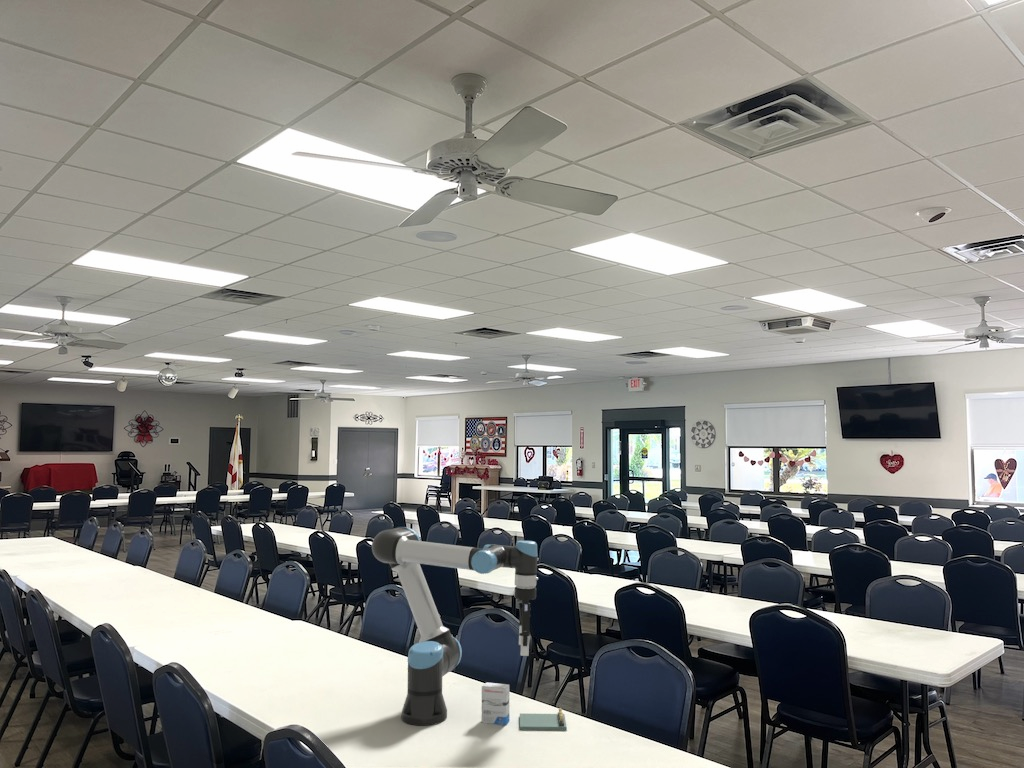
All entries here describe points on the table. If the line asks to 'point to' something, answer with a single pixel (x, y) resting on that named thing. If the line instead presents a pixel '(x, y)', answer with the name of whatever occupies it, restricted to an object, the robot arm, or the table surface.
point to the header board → (543, 721)
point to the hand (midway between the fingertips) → (523, 650)
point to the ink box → (495, 703)
